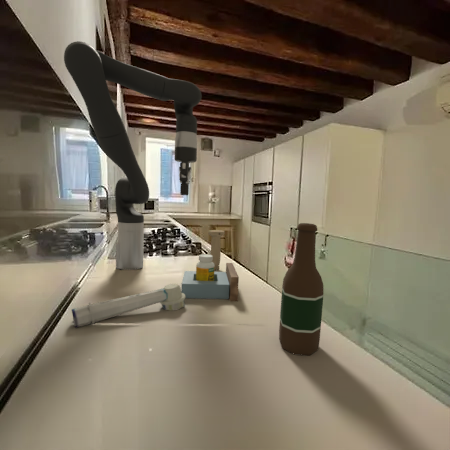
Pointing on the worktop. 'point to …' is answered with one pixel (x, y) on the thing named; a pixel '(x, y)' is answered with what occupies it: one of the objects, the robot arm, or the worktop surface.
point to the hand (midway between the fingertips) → (184, 195)
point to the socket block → (205, 286)
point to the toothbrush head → (129, 305)
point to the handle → (216, 246)
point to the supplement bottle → (205, 268)
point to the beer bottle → (302, 297)
